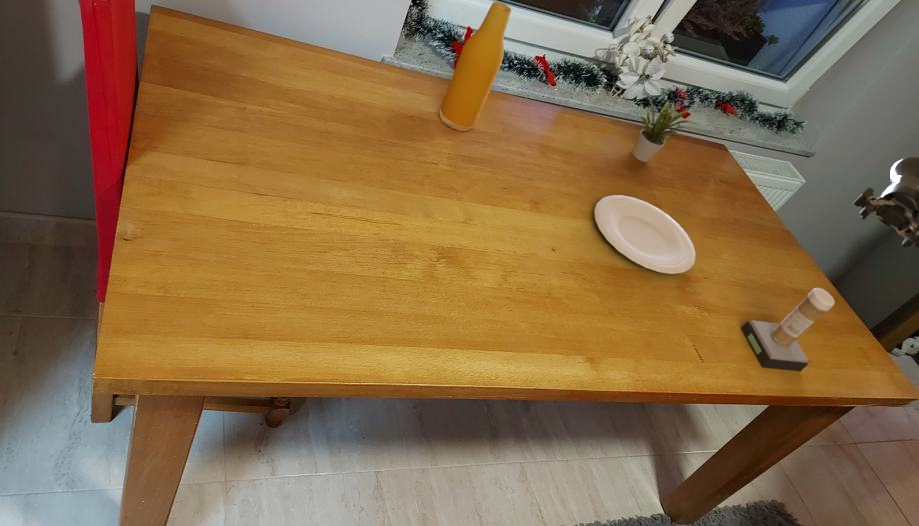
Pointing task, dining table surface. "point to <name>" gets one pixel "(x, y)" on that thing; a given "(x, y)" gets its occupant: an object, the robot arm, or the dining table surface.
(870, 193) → the robot arm
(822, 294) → the sprinkles bottle
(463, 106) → the beer bottle
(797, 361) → the scale
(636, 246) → the plate
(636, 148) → the house plant
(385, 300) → the dining table surface
